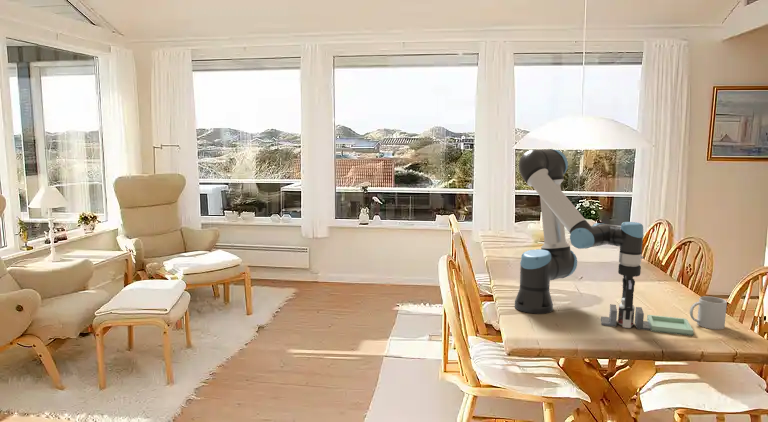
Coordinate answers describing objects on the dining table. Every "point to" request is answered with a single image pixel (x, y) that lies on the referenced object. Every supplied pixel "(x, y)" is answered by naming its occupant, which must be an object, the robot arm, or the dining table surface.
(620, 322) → the pill bottle
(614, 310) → the bookends
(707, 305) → the mug
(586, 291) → the dining table surface
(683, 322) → the tray
